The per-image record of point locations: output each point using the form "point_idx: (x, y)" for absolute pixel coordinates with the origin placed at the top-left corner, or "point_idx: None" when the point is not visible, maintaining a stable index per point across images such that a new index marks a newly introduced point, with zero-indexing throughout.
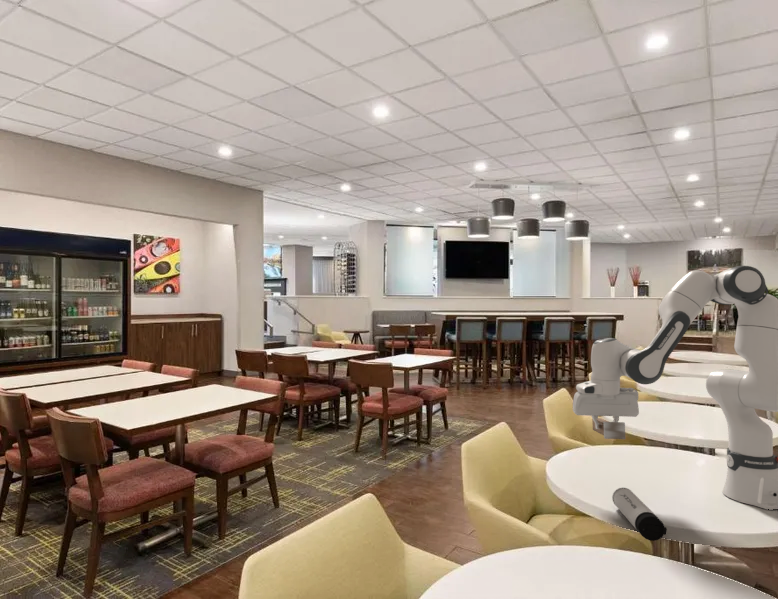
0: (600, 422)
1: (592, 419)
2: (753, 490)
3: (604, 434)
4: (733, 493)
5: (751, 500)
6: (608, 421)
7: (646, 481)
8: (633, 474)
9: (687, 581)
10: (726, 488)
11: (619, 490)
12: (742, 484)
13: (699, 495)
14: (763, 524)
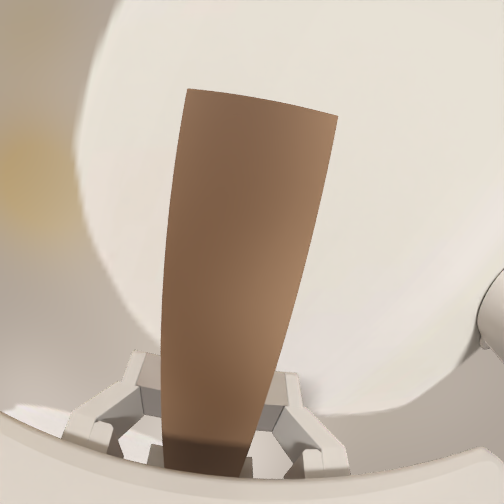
0: (162, 413)
1: (189, 98)
2: (495, 349)
3: (148, 463)
4: (487, 317)
5: (484, 336)
6: (256, 413)
7: (401, 183)
8: (402, 113)
9: None
10: (497, 299)
11: None
12: (500, 341)
13: (447, 289)
14: (421, 389)
